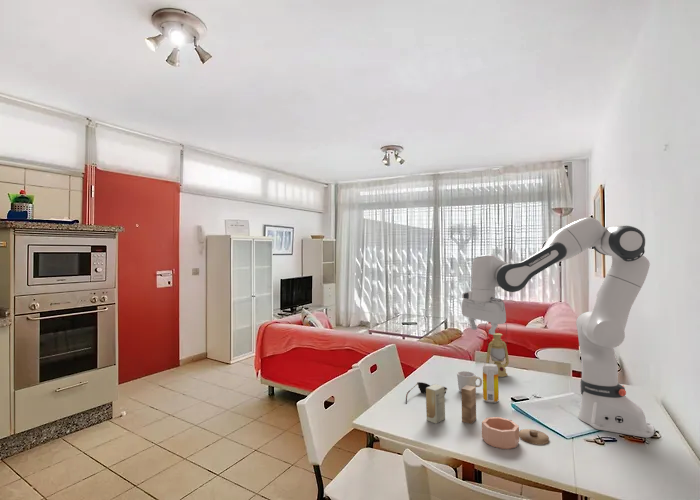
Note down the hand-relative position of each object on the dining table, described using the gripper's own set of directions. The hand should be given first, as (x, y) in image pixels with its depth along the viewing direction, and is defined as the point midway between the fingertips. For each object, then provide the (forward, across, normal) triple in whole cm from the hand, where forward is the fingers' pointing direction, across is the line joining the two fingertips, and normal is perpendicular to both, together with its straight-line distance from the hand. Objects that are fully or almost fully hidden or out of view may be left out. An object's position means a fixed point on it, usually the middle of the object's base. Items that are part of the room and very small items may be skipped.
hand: (482, 331), depth 147 cm
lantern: (+31, +32, -42) cm, 62 cm away
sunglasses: (+33, +20, +12) cm, 40 cm away
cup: (+32, +19, -12) cm, 39 cm away
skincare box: (+32, +2, +20) cm, 38 cm away
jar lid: (+31, -23, -1) cm, 39 cm away
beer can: (+31, +7, -12) cm, 34 cm away
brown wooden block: (+32, -4, +9) cm, 33 cm away
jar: (+31, -20, +11) cm, 39 cm away
